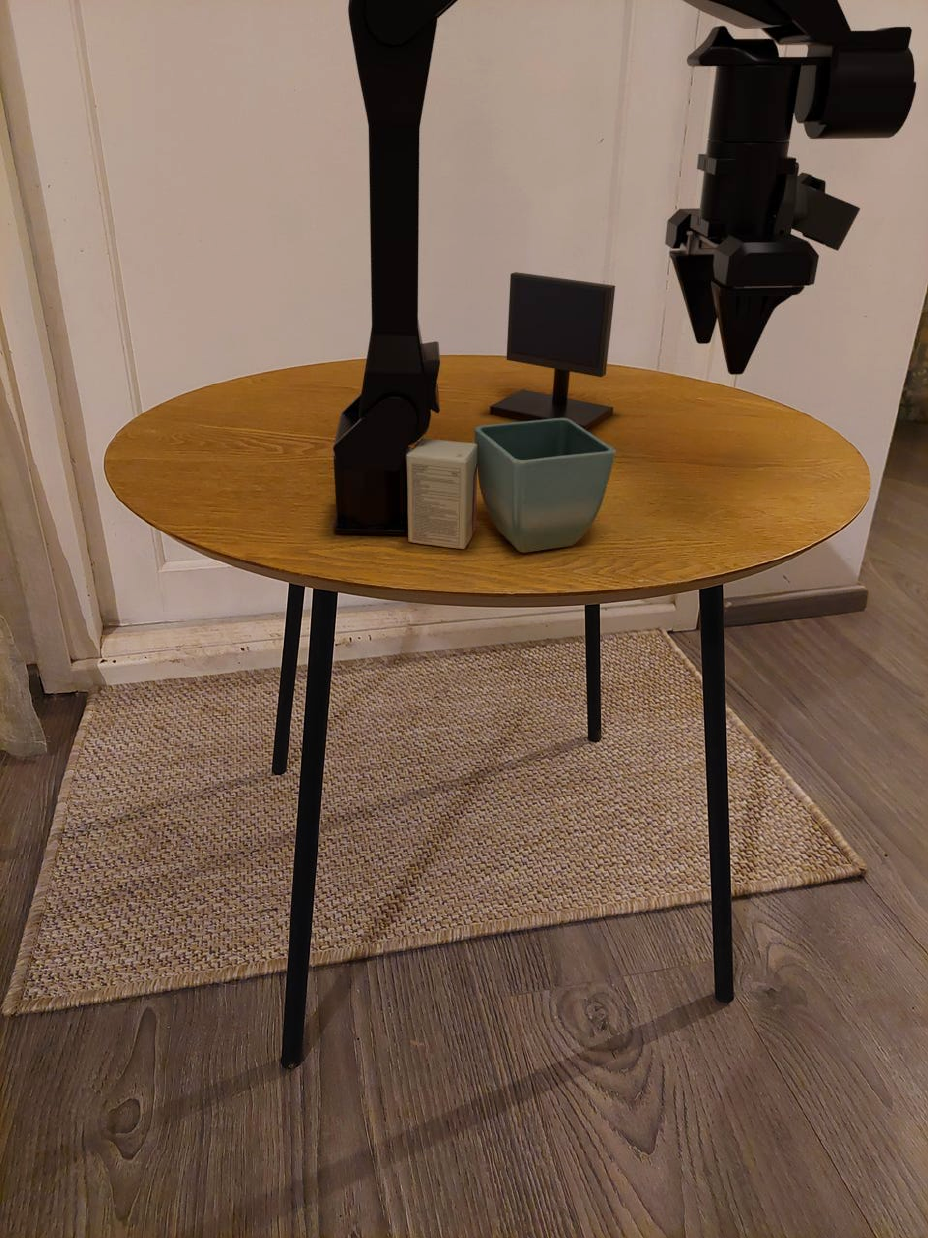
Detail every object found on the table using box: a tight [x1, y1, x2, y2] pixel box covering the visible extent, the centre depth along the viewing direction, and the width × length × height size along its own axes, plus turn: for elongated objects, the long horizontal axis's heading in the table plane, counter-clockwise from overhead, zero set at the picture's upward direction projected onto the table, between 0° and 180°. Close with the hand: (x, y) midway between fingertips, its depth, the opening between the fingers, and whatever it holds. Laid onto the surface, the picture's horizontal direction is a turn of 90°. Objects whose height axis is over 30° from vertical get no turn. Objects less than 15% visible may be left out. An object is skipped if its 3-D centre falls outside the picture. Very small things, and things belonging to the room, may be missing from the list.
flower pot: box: [473, 418, 617, 553], centre depth 75 cm, size 9×9×9 cm
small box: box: [406, 437, 478, 550], centre depth 75 cm, size 5×4×8 cm
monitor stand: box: [489, 369, 614, 432], centre depth 103 cm, size 8×12×7 cm, turn 59°
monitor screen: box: [505, 271, 616, 378], centre depth 100 cm, size 1×12×10 cm, turn 59°
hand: (718, 357), depth 73 cm, fingers open, 9 cm apart
